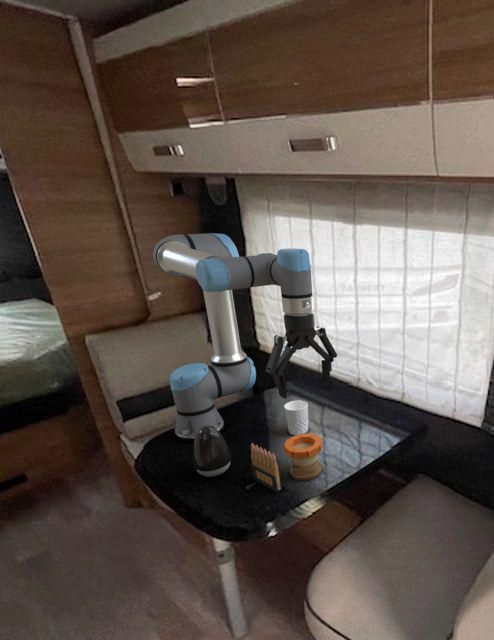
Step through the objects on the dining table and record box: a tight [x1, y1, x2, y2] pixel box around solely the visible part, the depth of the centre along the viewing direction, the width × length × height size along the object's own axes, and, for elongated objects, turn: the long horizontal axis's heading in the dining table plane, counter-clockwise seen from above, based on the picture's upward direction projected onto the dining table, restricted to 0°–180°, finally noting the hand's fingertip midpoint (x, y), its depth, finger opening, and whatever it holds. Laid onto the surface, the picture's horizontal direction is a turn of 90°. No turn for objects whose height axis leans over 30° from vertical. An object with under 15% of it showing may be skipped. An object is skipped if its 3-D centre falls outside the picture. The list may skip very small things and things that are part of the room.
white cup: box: [283, 399, 309, 436], centre depth 145 cm, size 8×8×10 cm
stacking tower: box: [289, 443, 323, 482], centre depth 123 cm, size 9×9×8 cm
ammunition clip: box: [250, 442, 283, 493], centre depth 117 cm, size 11×2×12 cm, turn 56°
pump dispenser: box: [192, 425, 232, 478], centre depth 121 cm, size 10×10×15 cm
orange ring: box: [283, 433, 324, 459], centre depth 121 cm, size 10×10×2 cm
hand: (305, 389), depth 114 cm, fingers open, 13 cm apart
